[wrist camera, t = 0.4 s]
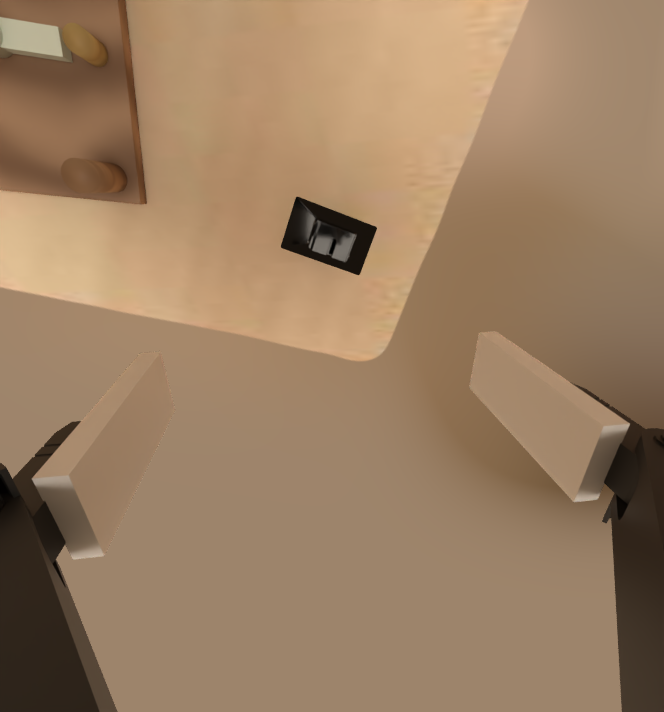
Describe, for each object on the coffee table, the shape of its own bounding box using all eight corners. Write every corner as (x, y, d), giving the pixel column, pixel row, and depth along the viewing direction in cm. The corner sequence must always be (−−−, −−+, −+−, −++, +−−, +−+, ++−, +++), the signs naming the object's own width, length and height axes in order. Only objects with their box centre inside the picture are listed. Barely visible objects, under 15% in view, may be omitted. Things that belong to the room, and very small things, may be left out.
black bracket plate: (263, 248, 38) (261, 256, 34) (283, 178, 36) (283, 177, 32) (367, 284, 42) (376, 295, 37) (392, 222, 39) (405, 226, 35)
